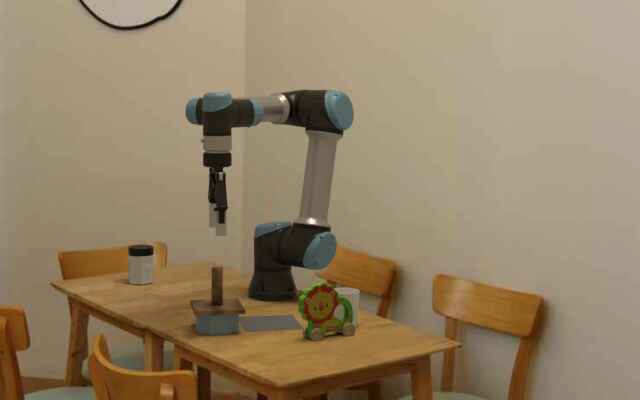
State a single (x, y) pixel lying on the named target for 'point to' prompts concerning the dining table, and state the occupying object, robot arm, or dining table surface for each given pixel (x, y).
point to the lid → (217, 299)
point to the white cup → (352, 297)
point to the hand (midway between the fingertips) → (217, 231)
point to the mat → (269, 323)
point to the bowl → (217, 324)
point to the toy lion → (324, 312)
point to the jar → (141, 264)
